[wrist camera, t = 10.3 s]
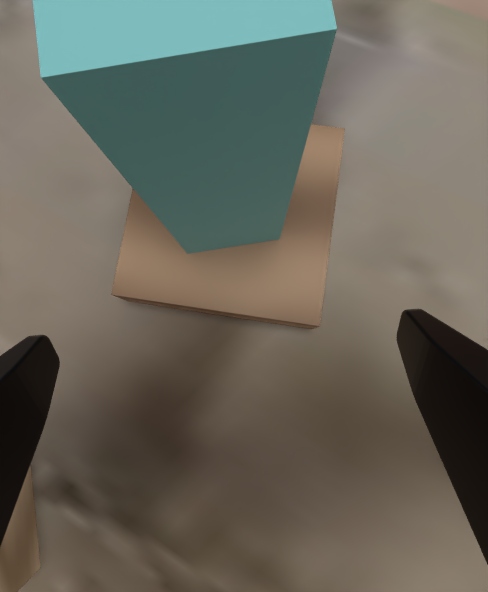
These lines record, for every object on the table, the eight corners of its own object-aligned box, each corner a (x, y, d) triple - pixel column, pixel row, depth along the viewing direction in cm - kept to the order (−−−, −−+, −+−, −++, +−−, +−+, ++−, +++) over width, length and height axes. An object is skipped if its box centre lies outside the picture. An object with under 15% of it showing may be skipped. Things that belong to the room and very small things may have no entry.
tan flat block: (310, 329, 20) (319, 326, 17) (127, 301, 21) (106, 293, 18) (332, 158, 22) (344, 128, 19) (159, 135, 22) (145, 103, 19)
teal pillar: (279, 239, 18) (337, 29, 6) (187, 253, 18) (40, 78, 6) (264, 151, 18) (287, -224, 6) (174, 165, 19) (14, -177, 6)
